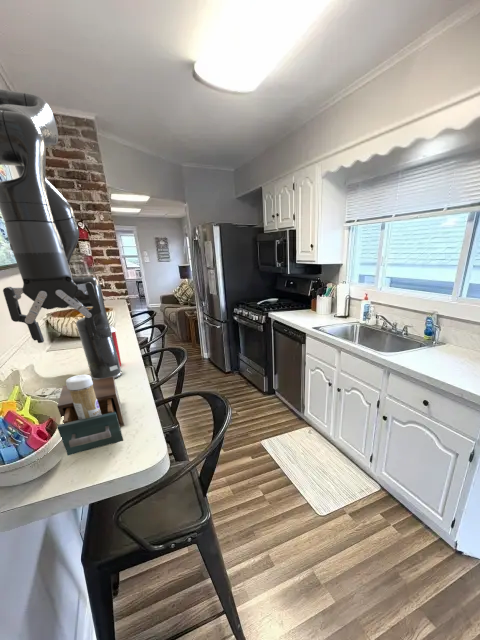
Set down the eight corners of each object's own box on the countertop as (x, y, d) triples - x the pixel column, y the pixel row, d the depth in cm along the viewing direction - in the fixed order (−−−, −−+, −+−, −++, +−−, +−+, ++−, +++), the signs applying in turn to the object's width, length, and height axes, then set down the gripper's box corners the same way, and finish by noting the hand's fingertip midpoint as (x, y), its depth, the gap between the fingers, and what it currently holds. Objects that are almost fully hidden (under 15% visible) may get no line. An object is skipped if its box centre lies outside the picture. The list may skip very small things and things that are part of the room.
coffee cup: (123, 361, 124) (114, 324, 118) (125, 367, 117) (116, 328, 111) (99, 365, 120) (88, 327, 114) (100, 371, 113) (89, 331, 107)
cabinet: (124, 425, 76) (115, 394, 73) (69, 439, 71) (57, 406, 68) (121, 404, 87) (113, 376, 84) (72, 415, 82) (62, 385, 79)
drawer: (124, 450, 65) (116, 422, 62) (66, 466, 60) (54, 437, 58) (120, 417, 78) (113, 393, 76) (71, 429, 74) (62, 403, 71)
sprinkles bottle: (107, 434, 69) (91, 378, 64) (83, 440, 67) (64, 383, 62) (105, 425, 73) (89, 372, 67) (83, 431, 70) (65, 376, 65)
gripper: (85, 250, 62) (106, 330, 68) (-7, 252, 55) (26, 340, 62) (84, 249, 56) (107, 337, 62) (-19, 251, 49) (18, 349, 56)
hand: (67, 338), depth 62 cm, fingers open, 8 cm apart
